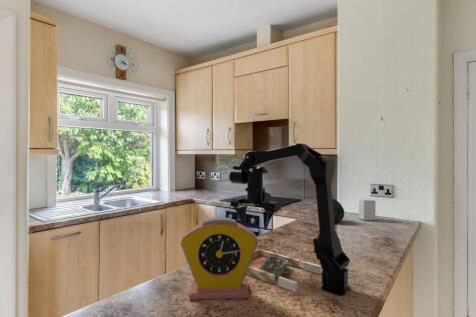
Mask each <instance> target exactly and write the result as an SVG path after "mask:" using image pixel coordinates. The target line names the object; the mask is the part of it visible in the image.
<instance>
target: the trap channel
mask: <svg viewBox="0 0 476 317" xmlns="http://www.w3.org/2000/svg"><path fill="white" fill-rule="evenodd" d="M270 254H271V256H275V257H276V260H280V259H282V260H284V259H285V260H288V261H287V266H289V267H290V266H291V267H294V268H297V269H299V268H300V267H301V260H300V259H298V258H295V257H290V256H287V255H283V254H281V253H276V252H274V251H273V252H272V251H268V250H266V249H262V248H256V249H255V252H254V254H253V257H252V260H251V262H250V265H249V268H248V270H247V273H246V275H248V276H250V277H252V278H253V277H254V278H256V279H258V280H260V281H264V282H266V283H269V284H275V281H276V280H275V278H276V277H275V274H272V273H269V272H266V271H263V270H261V268H260V267H261V265H262V263H263V262H264V261H265V260H266V259H267V257H268V256H269V255H270Z"/></svg>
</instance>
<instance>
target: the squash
mask: <svg viewBox="0 0 476 317" xmlns="http://www.w3.org/2000/svg"><path fill="white" fill-rule="evenodd" d="M332 201H333V212H334V224H336V223H337V224H338V223H339V222H341V221H342V220H343V218H344V217H345V209H344V206H343V205H342V204H341V203H340V201H338V199H335V198H332Z"/></svg>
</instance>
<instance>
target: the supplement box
mask: <svg viewBox="0 0 476 317" xmlns="http://www.w3.org/2000/svg"><path fill="white" fill-rule="evenodd" d="M359 218H361V219H363V220H375V221H376V200H375V199H372V198H359V199H358V219H359ZM361 219H360V220H361ZM363 220H362V221H363Z"/></svg>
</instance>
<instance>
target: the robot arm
mask: <svg viewBox="0 0 476 317" xmlns="http://www.w3.org/2000/svg"><path fill="white" fill-rule="evenodd" d="M245 153H246V154H245V156H244V158H243V160H242V162H241V163H240V165H233V166H232V169H231V170H230V172H229V174H228V179H229V181H230V183H231V184H238V185H239V184H241V185H247V186H246V187H245V189H244V190H245V192H246V197H235V198H234V197H233V198H231V200H230V207H232V209H233V210H235V212H236V213H237V215H238V218H239V220H240V222H241V224H242V225H243V226H245V227H246V223H247V209H248V207H253V208H254V207H255V208H262V209H263V210H264V211H263V212H262V216H263V228H264V230H265V231H267V230H268V227H269V224H270V221H271V219H272V217H273V215H274V214H275V213H278V212H279V211H281V210H282V204H281V203H280V201H274V200H271V196H272V194H271V193H269V192H267V191H266V189H265V187H264V174H269V171H268V170H267V169H266V168H265V166H266V165H268V164H270V163H271V162H273V161H279V160H284V159H290V158H296V157H297V158H298V159H299V160H300V161H301V162H302V163H303V164H304V165H305V166H307V168H308V170H309V175H310V178H311V180H312V182H313V184H314V186H315V193H316V194H315V196H316V207H317V209H316V210H317V217H318V232H319V234H318V236H316V237H314V238H313V240H312V241H313V247H314V248H313V253H314V254H315V257H316V259H317V260H319V263H320V266H321V284H322V286H320V289H321V290H323V291H327V292H329V293H331V294H335V295H338V296H341V297H342V296H344V295H345V294H346V293H347V292H348V291H349V290H350V289H351V287H350V285H349V269H348V268H347V267H348V266H349V264H350V262H351V259H350V258H349V256H348V255H347V254H346V253H345V252H344V250H343V248H342V244H341V240H340V238H339V237H340V236H338V234H337V232H336V228H335V227H336V225H335V224H336V223H334V212H333V201H332V199H333V193H332V192H333V191H332V190H333V189H332V182H333V179H334V175H335V166H336V165H335V160H333V159H332V157H329V155H323V154H322V153H320V152H318V151H316V150H315V149H313V148H311V147H310V146H309V145H308V144H306V143H295V144H292V145H287V146H283V147H279V148H274V149H269V150H249V151H247V152H245ZM258 167H259V168H258Z"/></svg>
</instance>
